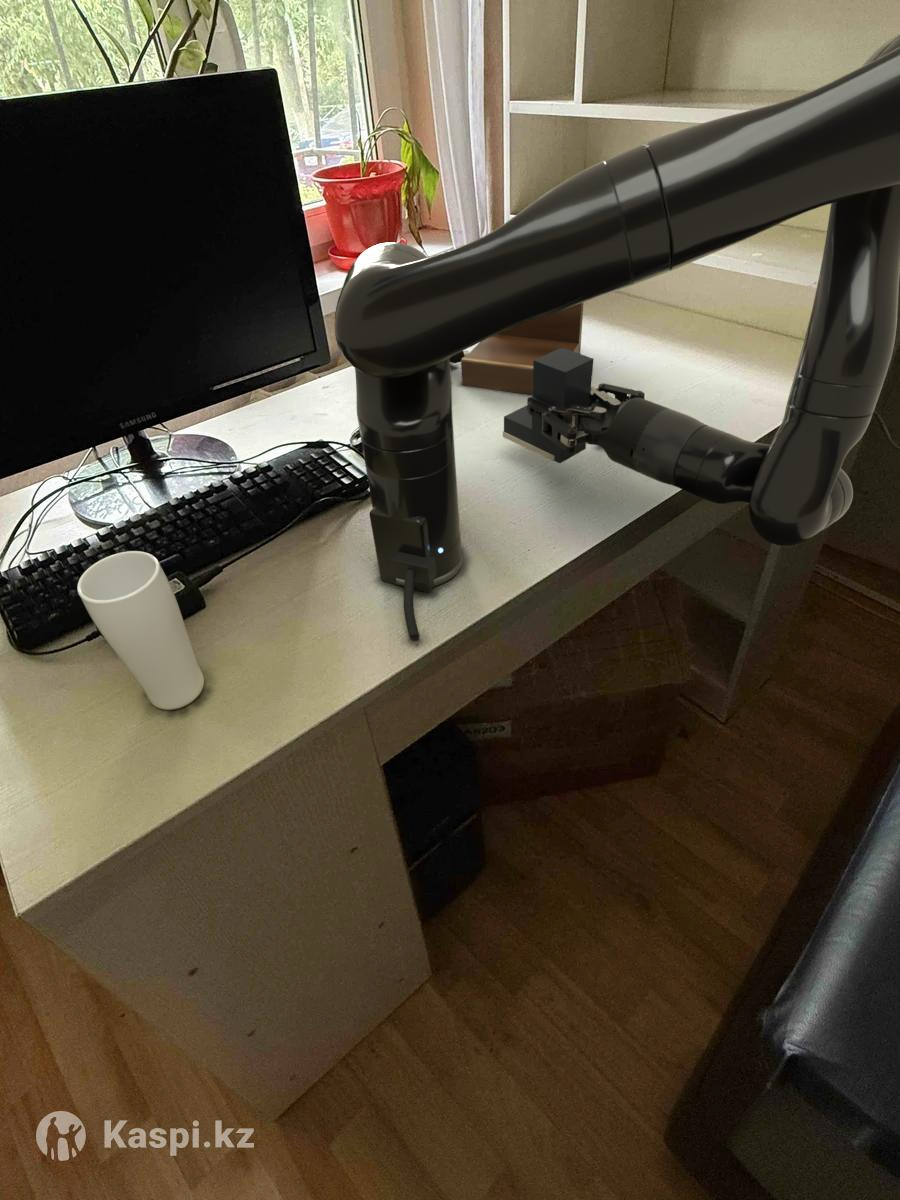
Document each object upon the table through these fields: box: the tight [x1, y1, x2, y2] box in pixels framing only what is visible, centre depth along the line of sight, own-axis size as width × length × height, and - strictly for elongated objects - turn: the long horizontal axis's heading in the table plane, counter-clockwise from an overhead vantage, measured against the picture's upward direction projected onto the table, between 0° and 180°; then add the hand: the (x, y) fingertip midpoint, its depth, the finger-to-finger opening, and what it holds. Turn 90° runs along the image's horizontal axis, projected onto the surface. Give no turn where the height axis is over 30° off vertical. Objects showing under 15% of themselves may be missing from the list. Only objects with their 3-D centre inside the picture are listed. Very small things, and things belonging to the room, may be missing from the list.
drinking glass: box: [76, 550, 205, 711], centre depth 62 cm, size 7×7×15 cm
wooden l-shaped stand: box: [460, 302, 585, 396], centre depth 110 cm, size 13×16×12 cm
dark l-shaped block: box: [502, 348, 594, 464], centre depth 86 cm, size 10×5×12 cm, turn 41°
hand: (545, 396), depth 86 cm, fingers closed on dark l-shaped block, 5 cm apart
